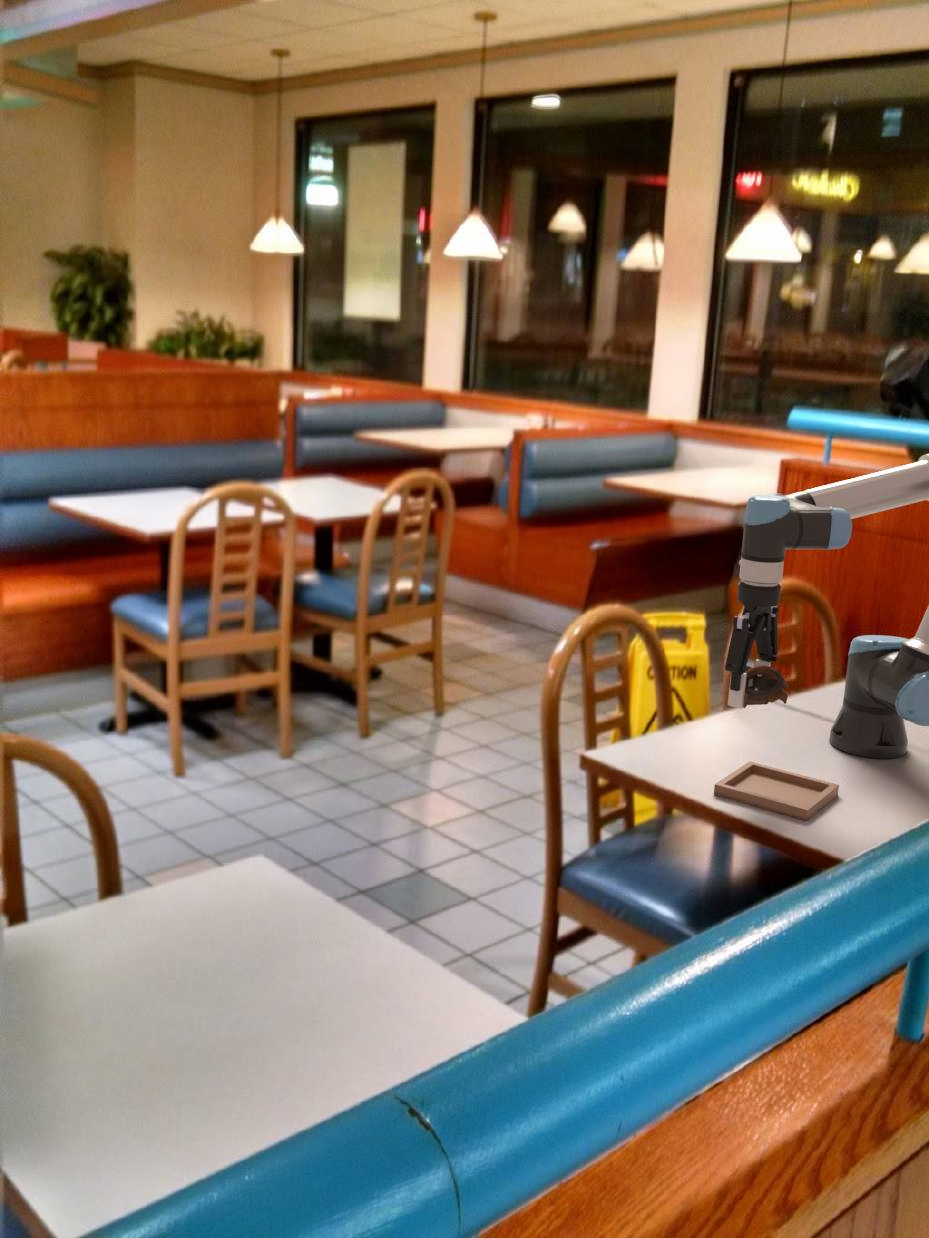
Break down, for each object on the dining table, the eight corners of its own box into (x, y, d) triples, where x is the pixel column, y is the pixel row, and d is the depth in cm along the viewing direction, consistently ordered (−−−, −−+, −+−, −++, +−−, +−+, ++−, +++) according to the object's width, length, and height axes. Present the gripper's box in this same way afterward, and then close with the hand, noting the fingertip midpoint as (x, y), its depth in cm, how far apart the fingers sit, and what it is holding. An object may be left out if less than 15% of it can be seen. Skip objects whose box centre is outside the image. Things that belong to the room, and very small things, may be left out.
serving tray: (748, 771, 231) (749, 761, 231) (837, 795, 221) (839, 784, 221) (713, 794, 219) (714, 784, 219) (806, 821, 209) (807, 810, 209)
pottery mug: (801, 709, 221) (798, 677, 216) (762, 736, 219) (758, 705, 214) (757, 676, 230) (753, 645, 225) (718, 702, 228) (713, 671, 223)
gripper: (767, 569, 228) (755, 683, 234) (712, 587, 212) (701, 709, 217) (804, 576, 224) (792, 691, 230) (751, 595, 207) (739, 719, 213)
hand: (747, 700), depth 223 cm, fingers closed on pottery mug, 9 cm apart
